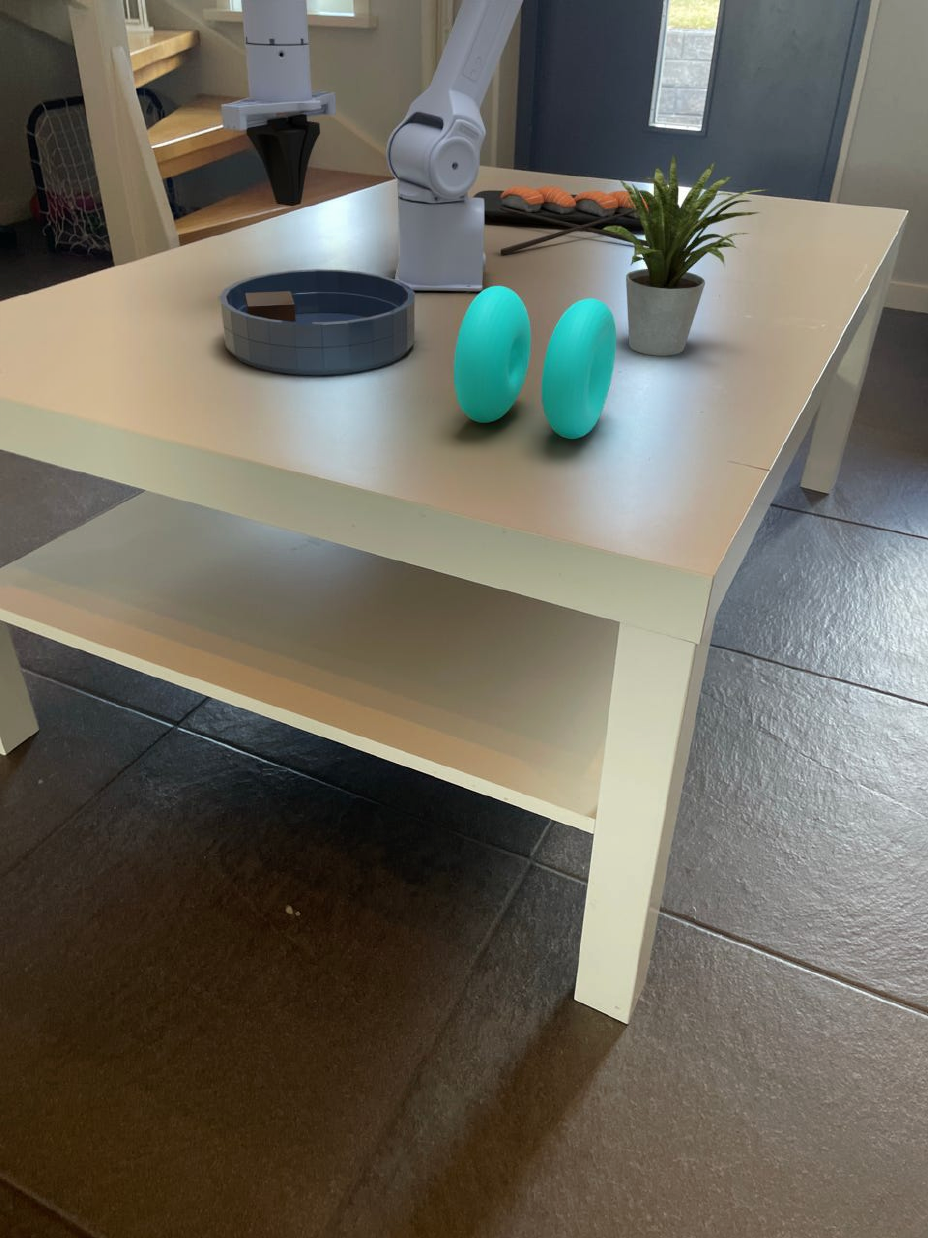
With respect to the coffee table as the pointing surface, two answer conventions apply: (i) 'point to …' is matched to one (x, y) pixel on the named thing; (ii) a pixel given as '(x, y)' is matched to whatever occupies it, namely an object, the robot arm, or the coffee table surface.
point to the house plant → (670, 260)
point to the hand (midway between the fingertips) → (288, 203)
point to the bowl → (322, 322)
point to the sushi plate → (562, 211)
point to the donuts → (501, 356)
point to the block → (271, 305)
